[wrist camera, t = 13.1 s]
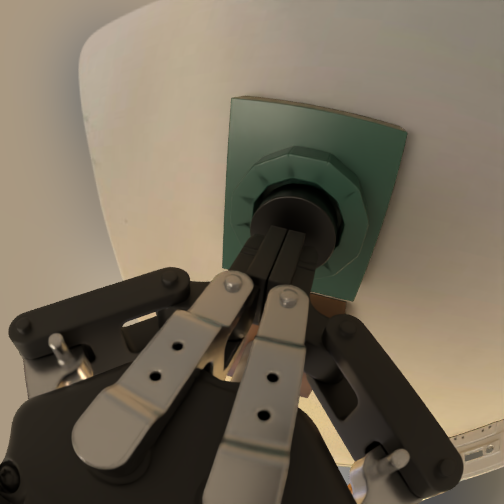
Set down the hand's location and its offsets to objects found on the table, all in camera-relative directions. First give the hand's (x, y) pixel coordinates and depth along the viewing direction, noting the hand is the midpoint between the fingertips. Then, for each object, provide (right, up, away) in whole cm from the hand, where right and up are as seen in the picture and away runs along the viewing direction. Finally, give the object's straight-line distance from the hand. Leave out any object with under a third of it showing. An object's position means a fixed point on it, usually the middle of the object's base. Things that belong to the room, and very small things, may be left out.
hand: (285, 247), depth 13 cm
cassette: (+31, -26, +14) cm, 43 cm away
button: (+1, +1, +2) cm, 3 cm away
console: (+2, +3, +5) cm, 6 cm away
